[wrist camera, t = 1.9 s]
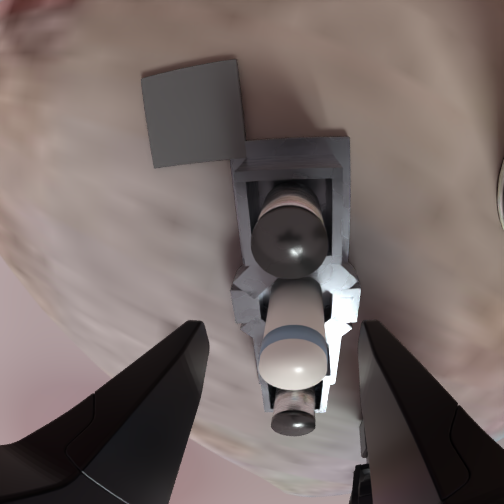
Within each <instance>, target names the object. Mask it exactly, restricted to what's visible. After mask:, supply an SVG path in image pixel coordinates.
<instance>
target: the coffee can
mask: <svg viewBox="0 0 504 504" xmlns="http://www.w3.org/2000/svg"><path fill="white" fill-rule="evenodd" d="M497 203H498V213H499V218H500V222H501V225H502V228H503V230H504V160H503V163H502V167H501V170H500V175H499V181H498V195H497Z"/></svg>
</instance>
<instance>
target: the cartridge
mask: <svg viewBox="0 0 504 504" xmlns="http://www.w3.org/2000/svg"><path fill="white" fill-rule="evenodd" d="M327 362H328V356H327V344H326V338H325V323H324V310H323V298H322V289H321V286H320V284H319V283H318V282H317V281H316V280H315V279H314V278H312V277H302V278H298V279H282V278H277V279H276V280H275V282H274V283H273V285H272V288H271V293H270V299H269V306H268V312H267V318H266V324H265V331H264V337H263V340H262V343H261V349H260V355H259V366H258V370H259V373H260V375H261V377H262V378H263V379H264V380H265V381H266V382H267V383H269V384H270V385H272V386H274V387H277V388H280V389H285V390H301V389H306V388H309V387H312V386H314V385H316V384H318V383H319V382H320V381H322V379H323V378H324V377H325V375H326V373H327Z"/></svg>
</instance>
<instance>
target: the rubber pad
mask: <svg viewBox="0 0 504 504" xmlns="http://www.w3.org/2000/svg"><path fill="white" fill-rule="evenodd" d="M141 84H142V93H143V101H144V108H145V115H146V122H147V129H148V135H149V141H150V148H151V154H152V159H153V165H154V168H161V167H168V166H175V165H183V164H191V163H200V162H209V161H218V160H229V159H240V158H247V157H246V148H245V141H246V137H245V127H244V118H243V109H242V100H241V91H240V82H239V73H238V64H237V60H236V59H233V60H226V61H219V62H213V63H207V64H202V65H197V66H192V67H187V68H182V69H178V70H173V71H169V72H165V73H161V74H157V75H153V76H149V77H146V78H142V79H141Z"/></svg>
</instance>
